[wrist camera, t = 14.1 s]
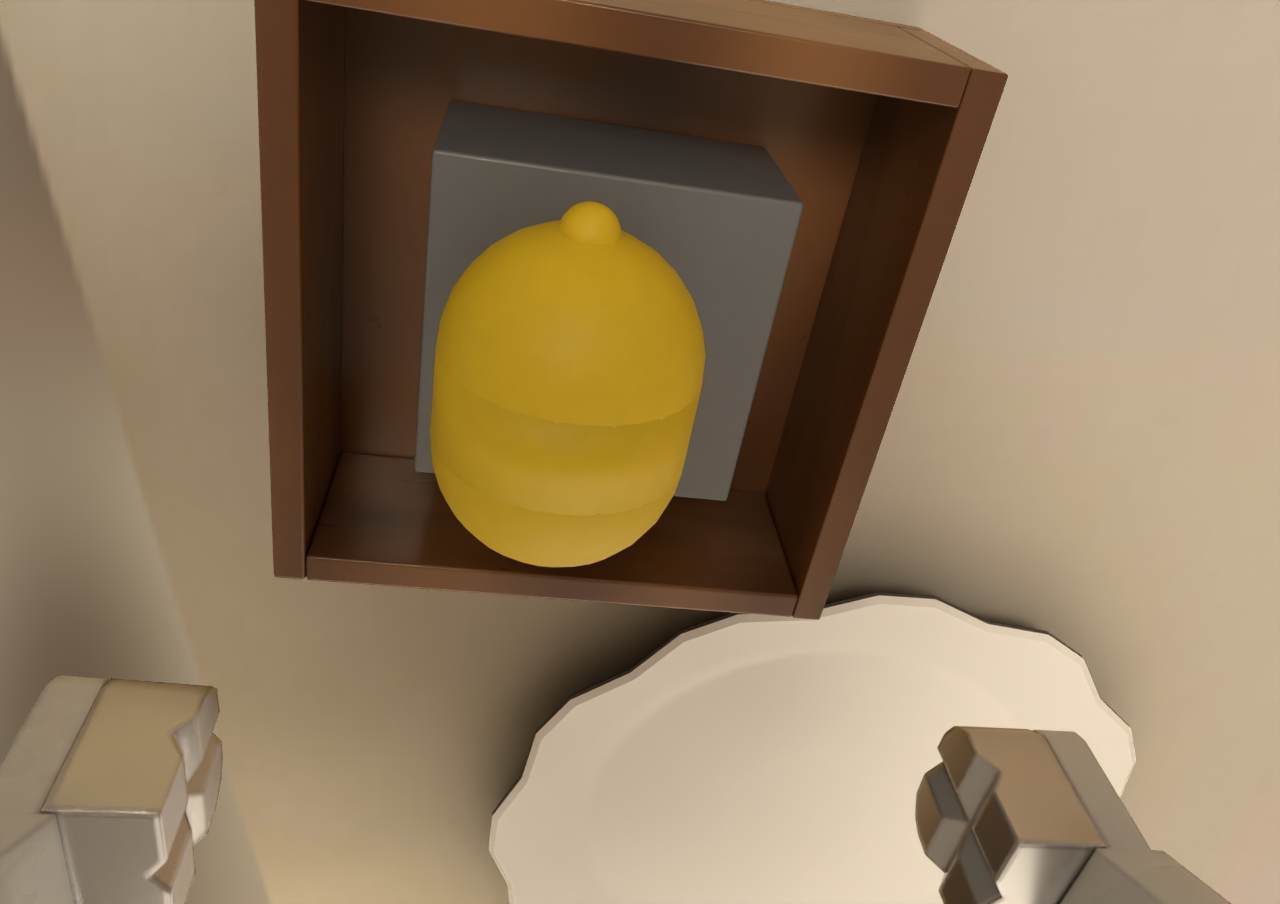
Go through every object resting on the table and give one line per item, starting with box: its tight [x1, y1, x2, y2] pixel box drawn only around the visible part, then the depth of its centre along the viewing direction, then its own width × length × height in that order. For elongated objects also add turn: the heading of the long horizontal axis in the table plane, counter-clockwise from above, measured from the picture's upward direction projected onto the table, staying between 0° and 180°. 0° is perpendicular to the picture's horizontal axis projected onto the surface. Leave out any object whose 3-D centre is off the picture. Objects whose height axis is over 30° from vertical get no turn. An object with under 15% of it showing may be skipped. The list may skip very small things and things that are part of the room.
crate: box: [254, 0, 1008, 620], centre depth 25 cm, size 15×15×6 cm
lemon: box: [430, 201, 705, 567], centre depth 20 cm, size 8×5×5 cm, turn 170°
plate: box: [488, 592, 1136, 904], centre depth 39 cm, size 25×25×2 cm
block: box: [414, 100, 803, 501], centre depth 25 cm, size 8×8×4 cm
